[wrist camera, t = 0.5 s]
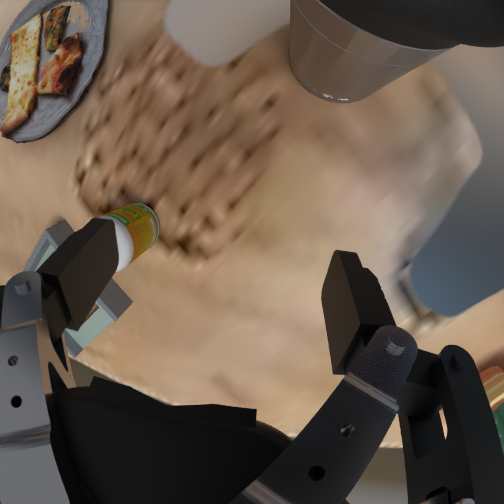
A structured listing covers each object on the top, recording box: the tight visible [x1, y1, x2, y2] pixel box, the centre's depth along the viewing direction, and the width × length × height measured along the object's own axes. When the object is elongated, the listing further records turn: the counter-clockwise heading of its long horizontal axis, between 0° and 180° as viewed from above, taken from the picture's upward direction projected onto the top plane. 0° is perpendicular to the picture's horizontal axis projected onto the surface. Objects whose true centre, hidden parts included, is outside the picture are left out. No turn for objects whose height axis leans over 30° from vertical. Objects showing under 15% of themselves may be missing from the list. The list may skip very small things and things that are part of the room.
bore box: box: [23, 221, 133, 358], centre depth 34 cm, size 14×14×4 cm
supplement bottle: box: [98, 203, 159, 272], centre depth 27 cm, size 5×5×10 cm
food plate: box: [0, 0, 109, 143], centre depth 23 cm, size 25×23×4 cm
